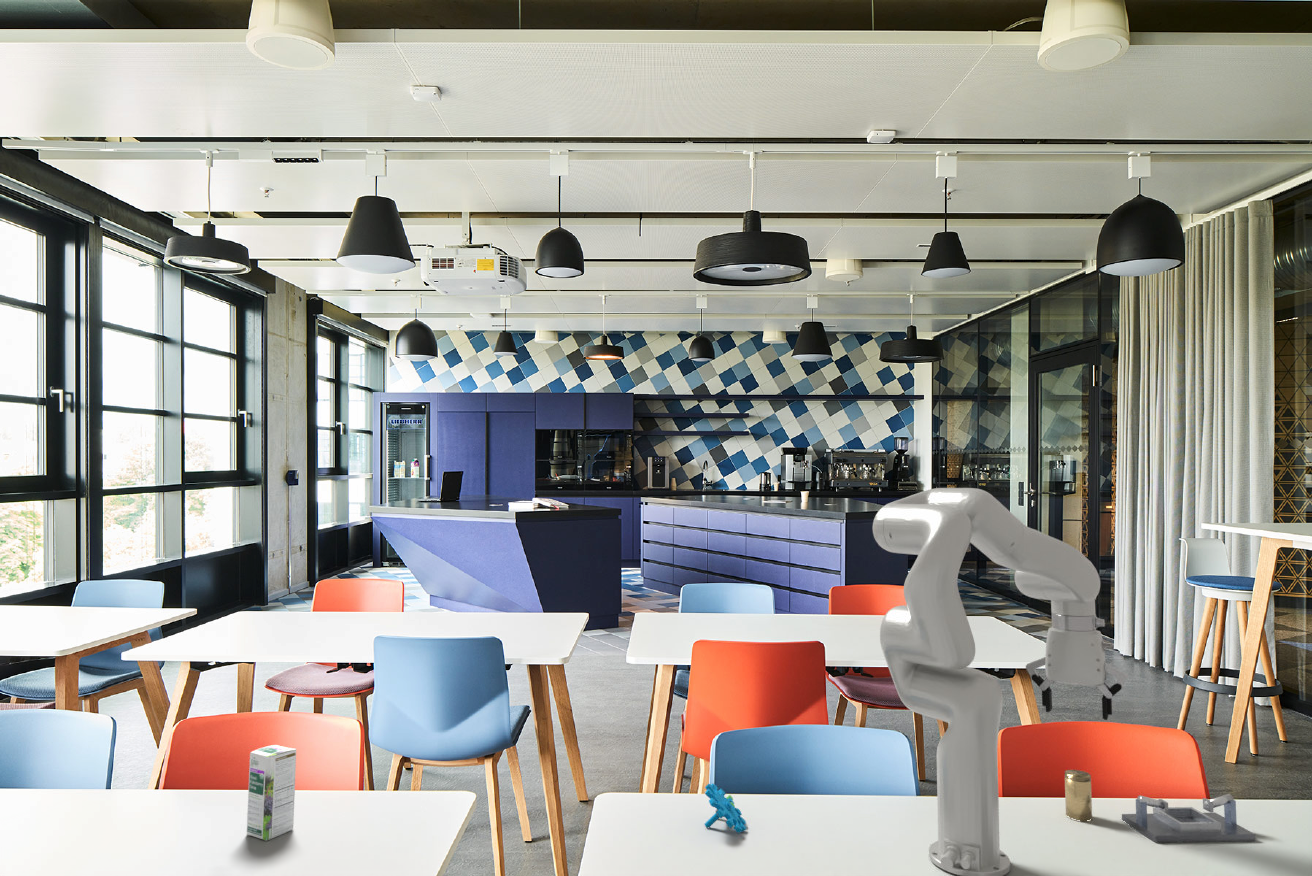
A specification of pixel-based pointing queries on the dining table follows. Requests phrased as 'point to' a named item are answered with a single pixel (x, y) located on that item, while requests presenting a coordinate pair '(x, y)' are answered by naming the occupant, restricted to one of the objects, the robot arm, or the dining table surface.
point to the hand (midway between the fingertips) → (1076, 714)
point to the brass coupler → (1078, 795)
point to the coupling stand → (1187, 822)
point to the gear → (724, 809)
